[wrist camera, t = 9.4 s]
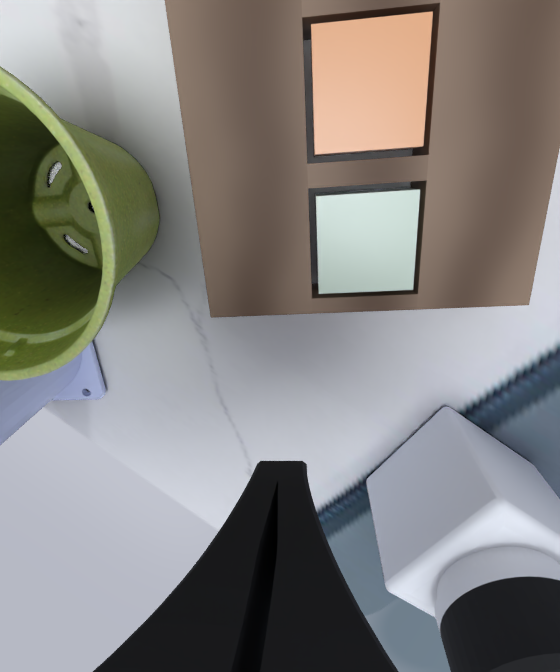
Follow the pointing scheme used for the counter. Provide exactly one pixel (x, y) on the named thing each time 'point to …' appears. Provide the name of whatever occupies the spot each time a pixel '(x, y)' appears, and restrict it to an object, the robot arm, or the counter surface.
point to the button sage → (366, 239)
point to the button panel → (420, 169)
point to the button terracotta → (370, 83)
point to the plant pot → (61, 232)
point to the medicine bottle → (472, 545)
